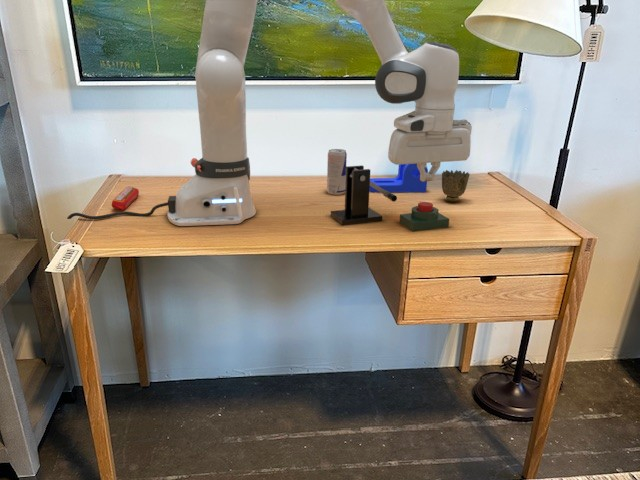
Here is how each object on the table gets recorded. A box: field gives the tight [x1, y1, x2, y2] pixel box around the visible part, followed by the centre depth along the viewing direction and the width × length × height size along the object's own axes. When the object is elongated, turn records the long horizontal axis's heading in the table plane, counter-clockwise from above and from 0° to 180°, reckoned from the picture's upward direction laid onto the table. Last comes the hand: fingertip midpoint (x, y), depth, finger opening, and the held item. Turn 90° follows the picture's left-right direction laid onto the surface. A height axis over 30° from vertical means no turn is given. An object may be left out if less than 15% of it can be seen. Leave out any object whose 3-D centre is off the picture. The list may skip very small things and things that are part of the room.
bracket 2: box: [369, 163, 429, 194], centre depth 173 cm, size 18×8×9 cm, turn 95°
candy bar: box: [111, 186, 140, 211], centre depth 158 cm, size 16×4×3 cm, turn 0°
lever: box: [350, 168, 398, 202], centre depth 147 cm, size 13×5×2 cm
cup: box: [441, 169, 470, 203], centre depth 162 cm, size 8×7×8 cm
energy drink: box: [326, 148, 348, 196], centre depth 168 cm, size 5×5×12 cm
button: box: [417, 201, 434, 212], centre depth 143 cm, size 4×4×2 cm
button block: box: [398, 205, 450, 232], centre depth 144 cm, size 10×7×4 cm
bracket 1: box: [330, 164, 383, 226], centre depth 146 cm, size 11×8×13 cm
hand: (426, 180), depth 140 cm, fingers closed
